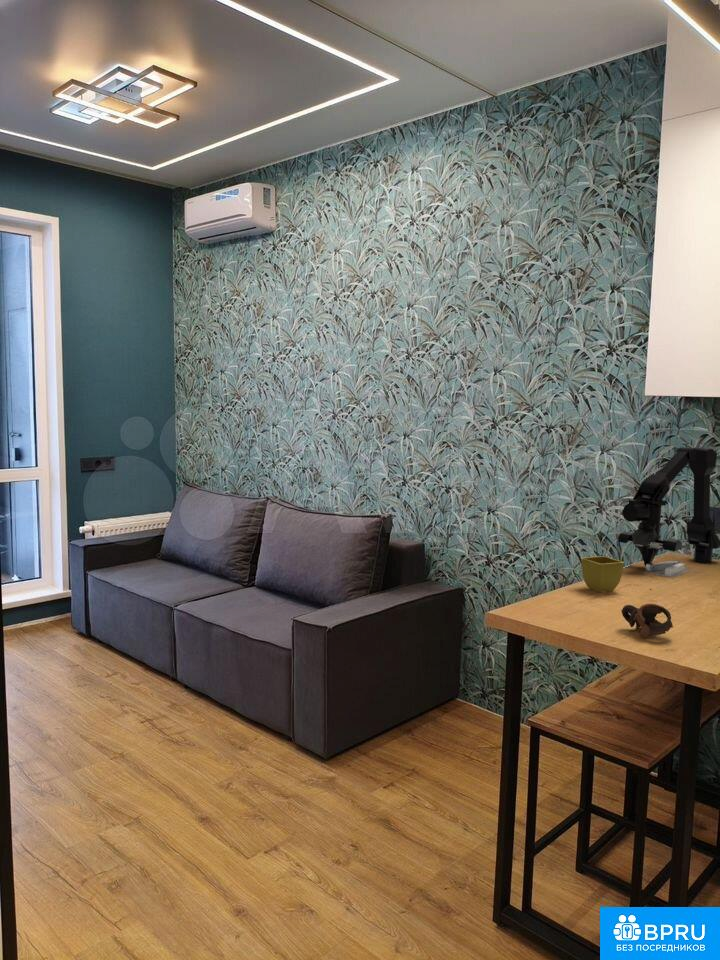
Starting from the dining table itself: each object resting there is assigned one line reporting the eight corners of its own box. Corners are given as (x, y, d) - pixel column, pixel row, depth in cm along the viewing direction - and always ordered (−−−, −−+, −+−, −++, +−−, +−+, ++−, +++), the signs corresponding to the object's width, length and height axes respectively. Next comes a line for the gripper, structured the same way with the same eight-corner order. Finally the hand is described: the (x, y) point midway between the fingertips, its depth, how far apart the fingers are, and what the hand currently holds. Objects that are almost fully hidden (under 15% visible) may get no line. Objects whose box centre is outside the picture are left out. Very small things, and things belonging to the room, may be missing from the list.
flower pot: (578, 587, 219) (580, 557, 218) (601, 585, 222) (604, 555, 221) (598, 595, 211) (600, 564, 210) (622, 592, 214) (625, 562, 213)
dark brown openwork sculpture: (673, 633, 181) (680, 609, 176) (659, 658, 175) (666, 635, 170) (624, 612, 187) (630, 588, 182) (609, 636, 181) (615, 612, 176)
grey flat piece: (663, 567, 248) (664, 558, 248) (691, 572, 242) (691, 563, 241) (643, 575, 236) (644, 565, 236) (672, 580, 230) (672, 571, 230)
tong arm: (676, 566, 244) (676, 560, 244) (680, 567, 243) (681, 561, 242) (645, 569, 238) (646, 563, 238) (650, 571, 236) (650, 564, 236)
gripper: (611, 518, 239) (608, 566, 241) (670, 526, 226) (666, 577, 228) (626, 514, 247) (623, 560, 249) (684, 522, 234) (680, 571, 236)
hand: (647, 567), depth 240 cm, fingers closed
